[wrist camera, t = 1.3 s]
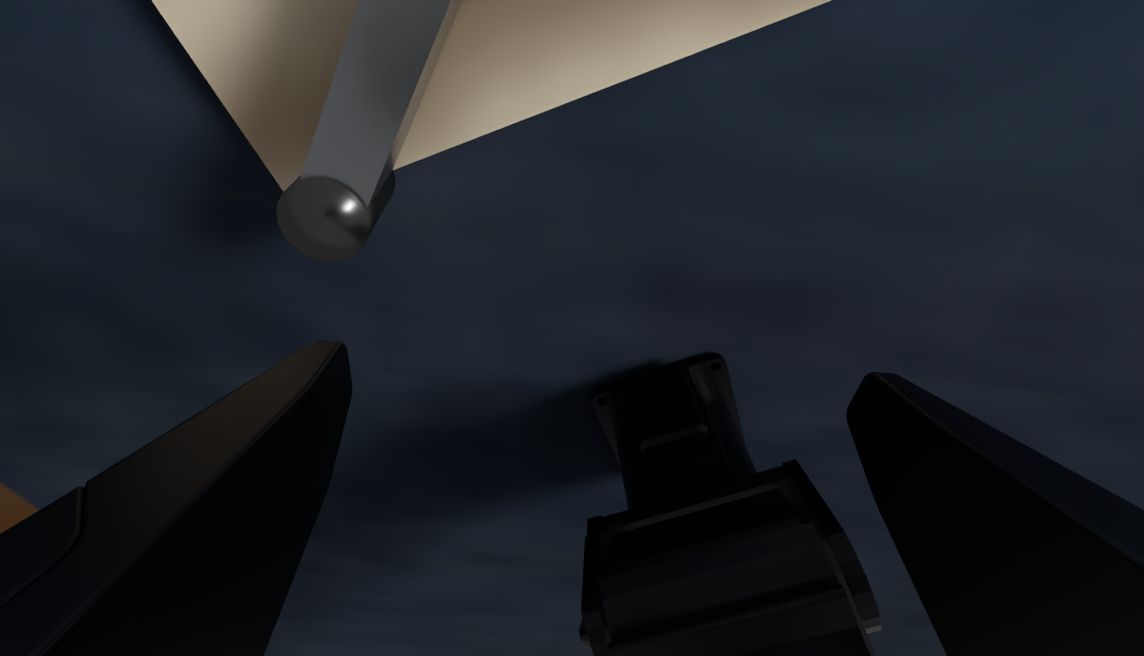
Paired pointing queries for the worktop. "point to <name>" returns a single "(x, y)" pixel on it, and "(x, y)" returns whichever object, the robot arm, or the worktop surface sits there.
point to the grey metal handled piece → (364, 125)
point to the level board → (444, 60)
